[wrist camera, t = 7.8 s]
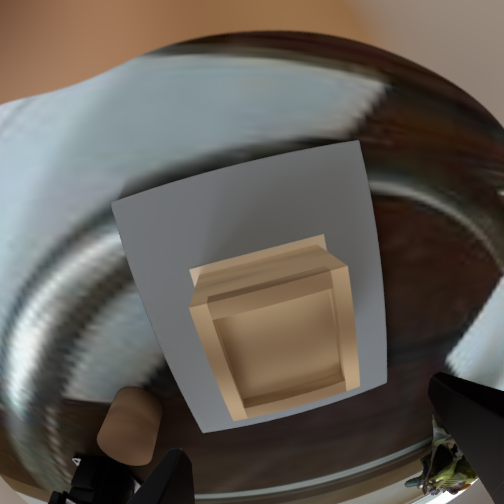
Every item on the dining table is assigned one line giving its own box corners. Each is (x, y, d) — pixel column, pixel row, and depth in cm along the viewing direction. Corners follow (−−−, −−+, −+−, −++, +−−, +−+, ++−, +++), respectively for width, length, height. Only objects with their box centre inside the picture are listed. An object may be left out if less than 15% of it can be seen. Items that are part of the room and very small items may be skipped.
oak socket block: (333, 344, 19) (360, 386, 14) (231, 372, 19) (233, 421, 14) (316, 244, 17) (347, 265, 12) (199, 274, 17) (188, 307, 12)
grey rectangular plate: (381, 375, 21) (387, 383, 20) (203, 424, 21) (202, 433, 20) (352, 142, 17) (359, 139, 16) (116, 201, 17) (109, 202, 16)
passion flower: (417, 419, 30) (404, 501, 22) (403, 389, 26) (388, 495, 18) (493, 404, 24) (490, 489, 15) (501, 368, 20) (503, 480, 11)
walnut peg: (170, 419, 21) (161, 465, 16) (129, 423, 21) (114, 465, 16) (150, 383, 20) (135, 429, 15) (107, 388, 20) (86, 430, 15)
